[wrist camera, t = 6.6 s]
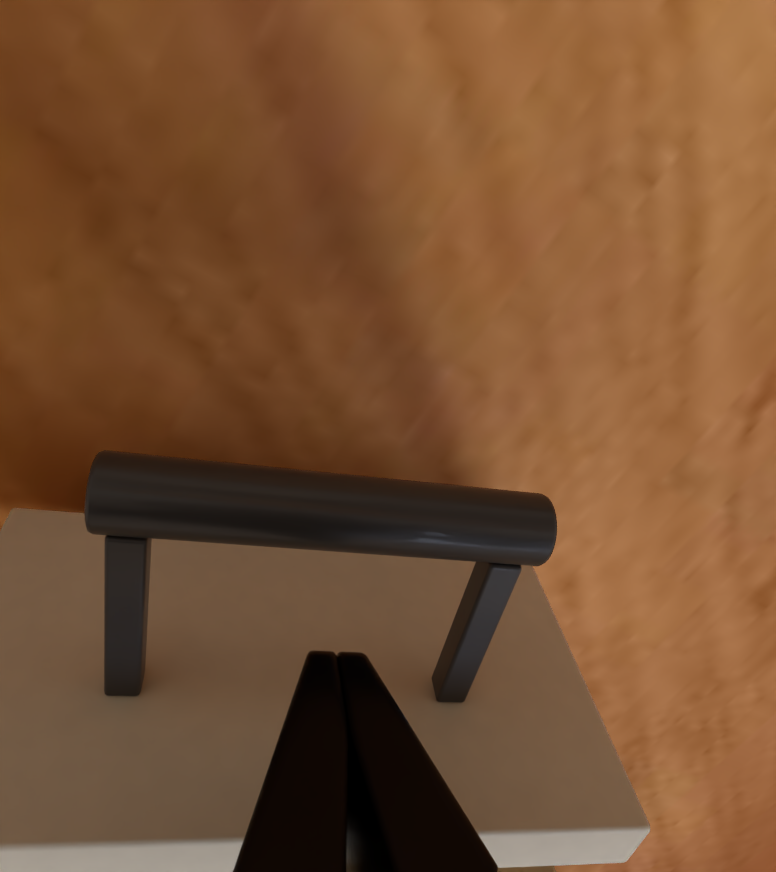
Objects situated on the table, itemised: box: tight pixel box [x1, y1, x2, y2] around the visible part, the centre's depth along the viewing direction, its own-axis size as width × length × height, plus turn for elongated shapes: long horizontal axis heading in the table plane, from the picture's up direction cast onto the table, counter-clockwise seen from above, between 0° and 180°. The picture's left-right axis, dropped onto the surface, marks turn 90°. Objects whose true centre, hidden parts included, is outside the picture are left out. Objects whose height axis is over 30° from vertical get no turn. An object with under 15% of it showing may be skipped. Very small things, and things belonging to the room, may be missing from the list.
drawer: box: [0, 450, 650, 872], centre depth 15 cm, size 18×12×7 cm
